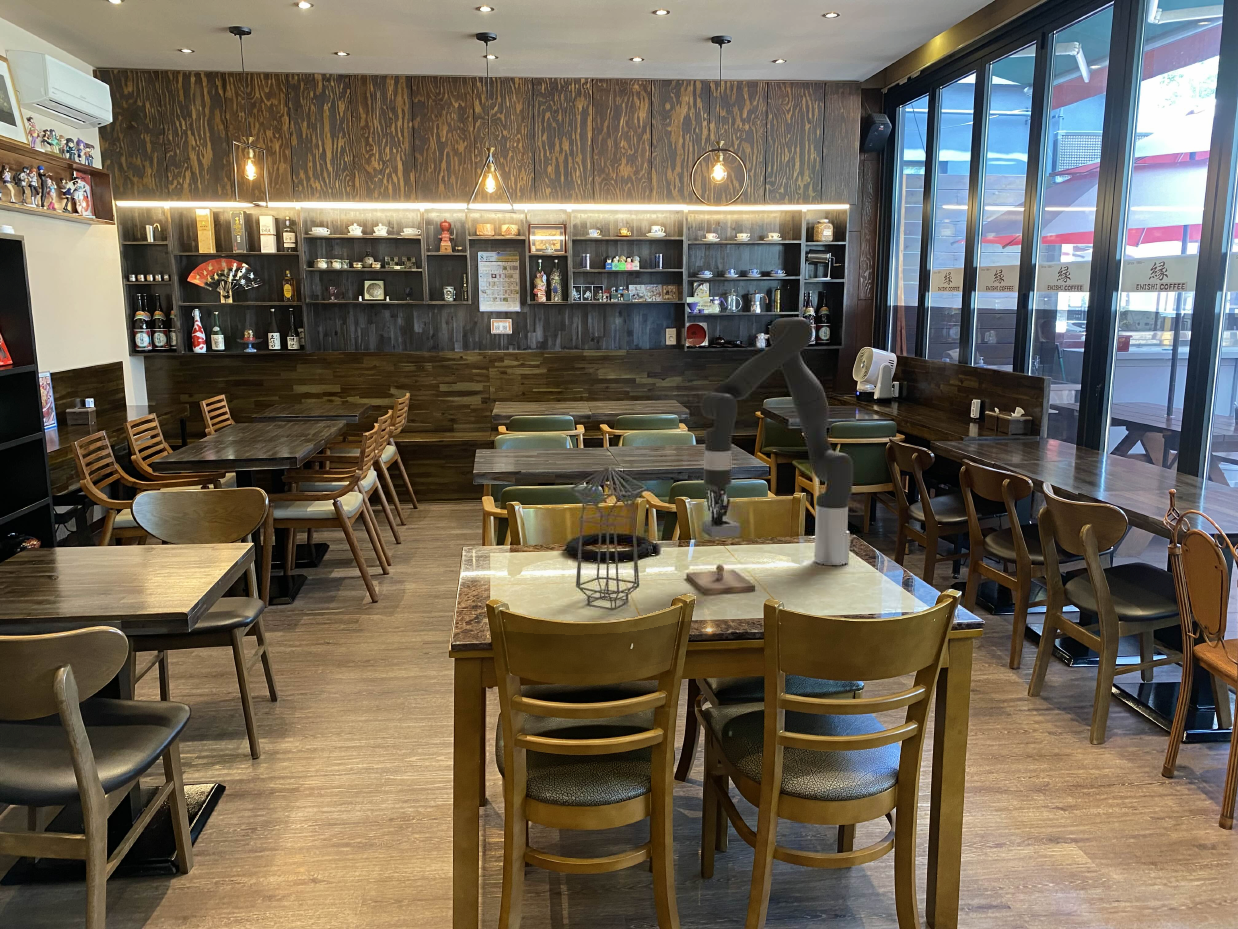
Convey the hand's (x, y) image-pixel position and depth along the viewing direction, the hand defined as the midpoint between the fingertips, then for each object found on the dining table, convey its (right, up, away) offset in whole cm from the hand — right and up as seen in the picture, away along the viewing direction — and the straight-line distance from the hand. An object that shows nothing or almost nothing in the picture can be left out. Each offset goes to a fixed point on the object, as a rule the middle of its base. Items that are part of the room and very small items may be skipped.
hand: (716, 529), depth 243 cm
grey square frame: (+1, -1, -3) cm, 3 cm away
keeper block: (+1, -15, -1) cm, 15 cm away
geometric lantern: (-29, -18, -16) cm, 38 cm away
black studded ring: (-29, -10, +35) cm, 46 cm away
